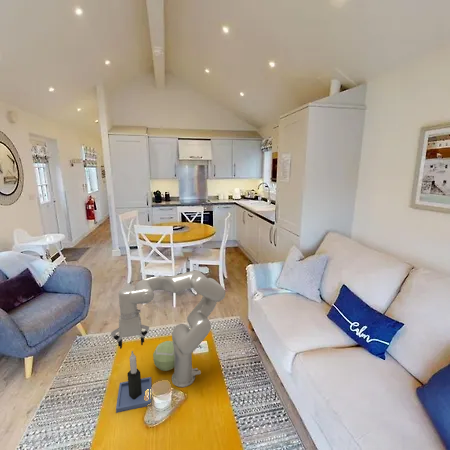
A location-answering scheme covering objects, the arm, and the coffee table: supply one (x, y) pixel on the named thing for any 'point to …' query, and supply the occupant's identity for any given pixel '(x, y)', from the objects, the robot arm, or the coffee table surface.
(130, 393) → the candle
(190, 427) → the coffee table surface
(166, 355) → the decorative sphere
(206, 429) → the coffee table surface
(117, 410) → the slate blue tray
